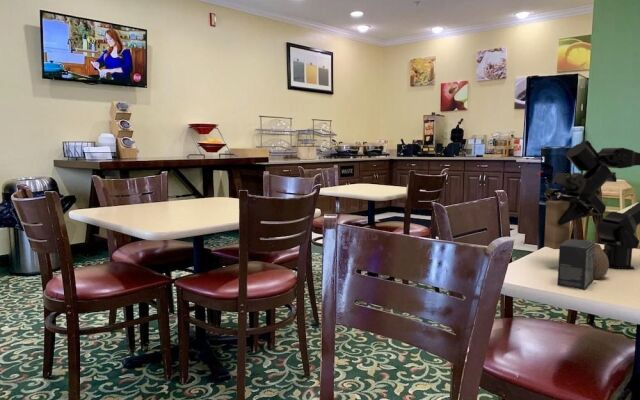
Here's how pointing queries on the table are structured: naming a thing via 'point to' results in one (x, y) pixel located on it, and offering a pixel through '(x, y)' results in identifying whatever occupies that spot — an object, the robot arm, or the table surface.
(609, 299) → the table surface
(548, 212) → the walnut block
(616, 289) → the table surface
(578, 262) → the small box
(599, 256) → the vase
